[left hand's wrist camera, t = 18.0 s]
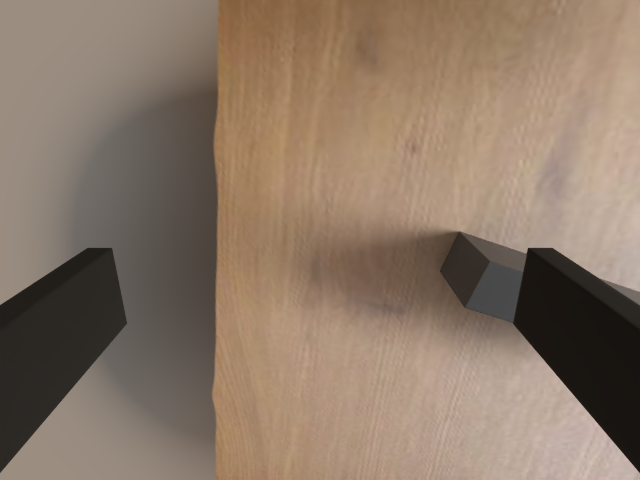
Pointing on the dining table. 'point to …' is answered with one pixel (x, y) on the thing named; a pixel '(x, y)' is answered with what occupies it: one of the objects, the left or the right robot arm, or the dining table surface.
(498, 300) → the bar
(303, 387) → the dining table surface
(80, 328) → the left robot arm
